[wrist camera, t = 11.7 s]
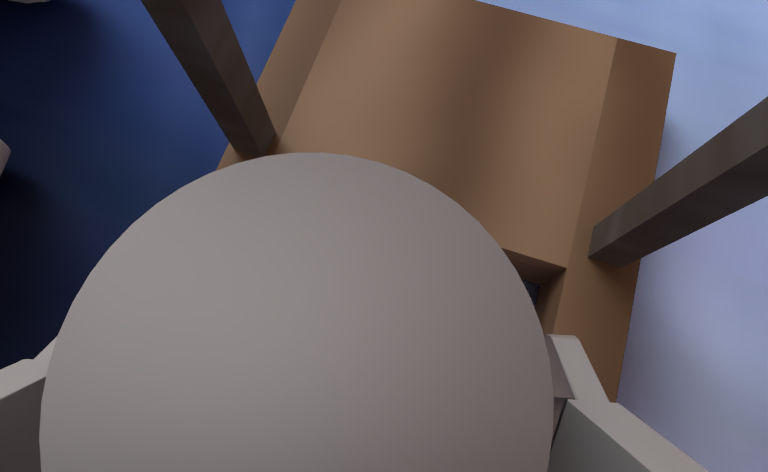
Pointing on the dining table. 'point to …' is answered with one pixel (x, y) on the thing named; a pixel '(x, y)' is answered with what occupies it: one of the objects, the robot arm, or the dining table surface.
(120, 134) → the dining table surface
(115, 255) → the grey mushroom bollard
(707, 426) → the dining table surface
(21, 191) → the dining table surface
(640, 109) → the wooden frame
